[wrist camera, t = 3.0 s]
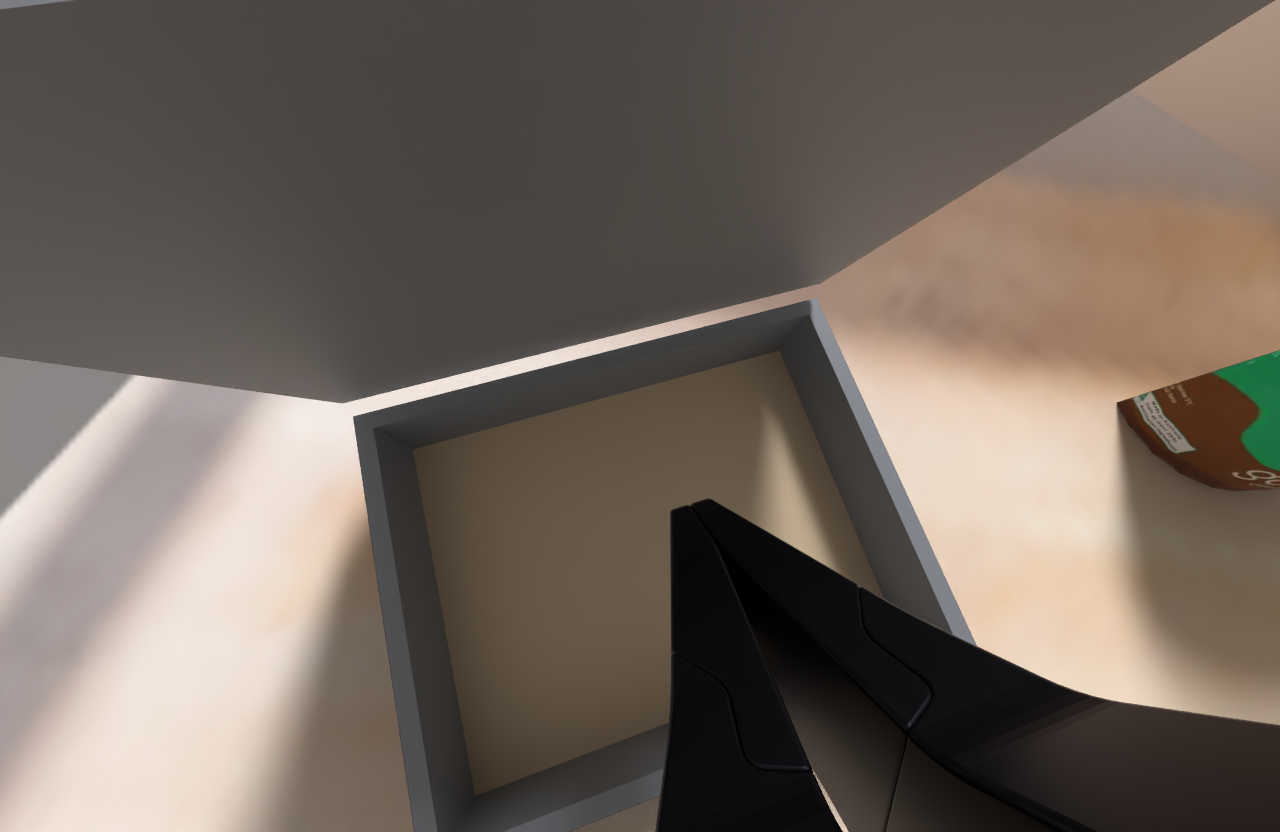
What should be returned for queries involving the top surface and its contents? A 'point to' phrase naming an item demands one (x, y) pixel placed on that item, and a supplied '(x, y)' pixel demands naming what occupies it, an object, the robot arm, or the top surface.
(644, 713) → the box
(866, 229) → the mailer lid
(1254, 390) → the food container
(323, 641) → the top surface
